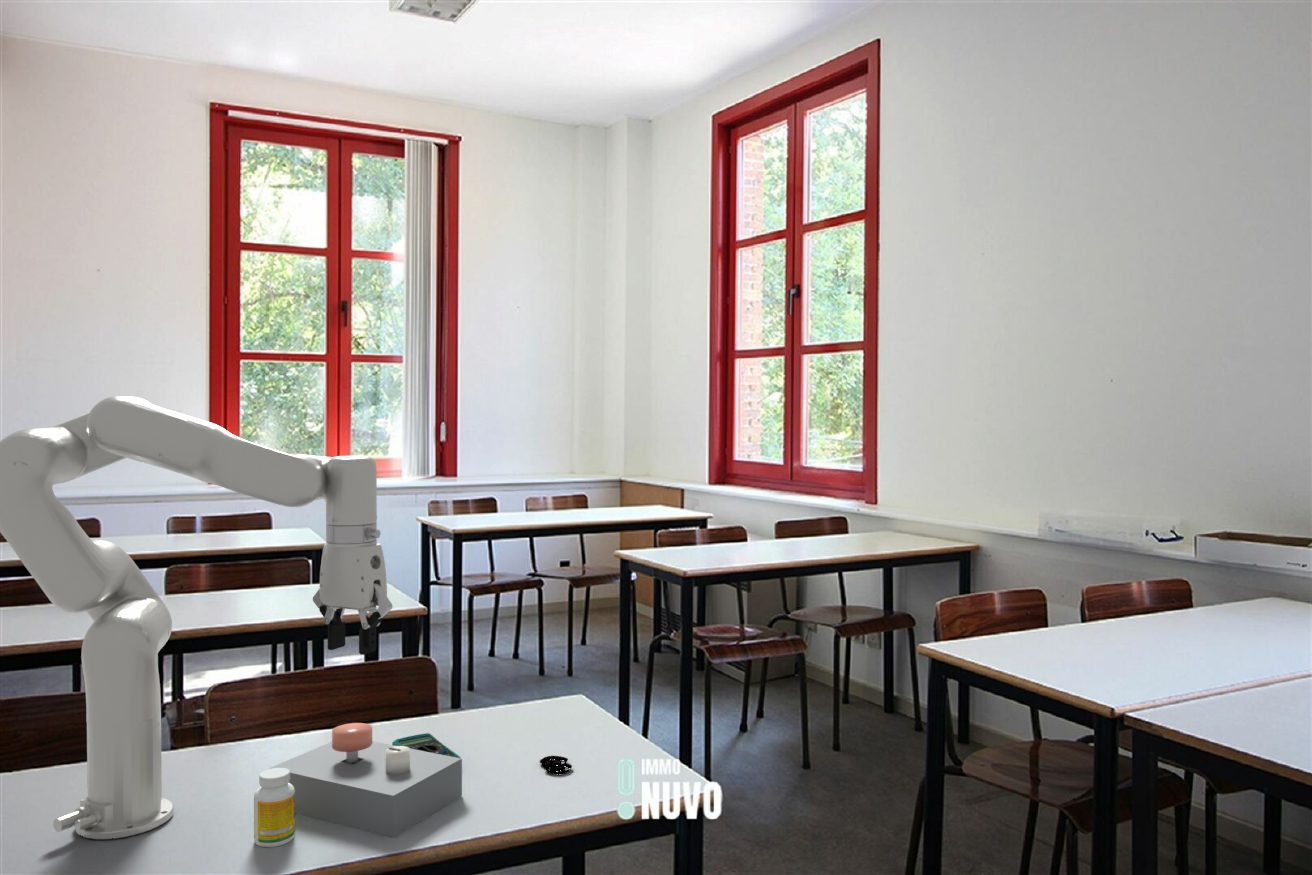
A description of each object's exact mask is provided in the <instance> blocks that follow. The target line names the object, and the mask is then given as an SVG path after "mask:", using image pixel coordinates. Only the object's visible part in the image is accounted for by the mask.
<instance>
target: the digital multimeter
mask: <svg viewBox="0 0 1312 875" xmlns="http://www.w3.org/2000/svg"><path fill="white" fill-rule="evenodd" d="M391 745H395V746H406V747H409V748H410V749H415V750H420V751H425V752H430V753H436V754H441V755H446V756H451V757H456V758H461V759H462V757H461V756H460V755H458V754H457V753H456V752H454V751H453V750H451V749H450V748H449V747H447V746H446V745H444V744H443V743H442V742H440V740H438V739H437V738H436V737H435V736H433V735H432V734H431V733H429V732H428V733H427V732H426V733H420V734H414V735H409V736H405V737H401V738H397V739H395V740H394V741H392V744H391Z"/></svg>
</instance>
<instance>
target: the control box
mask: <svg viewBox="0 0 1312 875" xmlns="http://www.w3.org/2000/svg"><path fill="white" fill-rule="evenodd" d="M389 747H395V745H392V744H390V743H389V744H388V743H383V742H378V741H374V740H372V745H371V746H370V747H368V748H366V749H363V750H359V751H358V762H357V763H353V764H349V763H347V762H346V752H340V751H336V750H334V749H333V748H332V741H330V742H328V743H325V744H323V745H321V746H318V747H316V748H314V749H311V750H309V751H307V752H306V751H305V753H301V754H300V755H297V756H295V757H293V758H289V759H287V760H286V761H284V762H281V763H279V764H277V765H273V766H271V767H269V769H272V768H286V769H289V771H290V780H289V782H288V783H290V784H292V785H293V787H294V789H295V814H297V815H301V816H305V817H310V818H313V819H317V820H322V821H325V822H331V823H334V824H337V825H343V826H346V827H349V828H354V829H359V830H363V831H366V832H370V833H374V834H379V835H383V836H386V837H392V838H395V837H397V836H399V835H401V833H403V832H405V831H406V830H408V829H410V828H412V827H413V826H415V825H416V824H418V823H420V822H422V821H423V820H425V819H427V818H429V817H430V816H432V815H433V814H435V813H437V812H439V811H440V810H442V809H443V808H445V807H446V806H449V805H450V804H452V803H453V802H456V801H457V800H458V799H459V798H461V797H462V796H463V759H462V757H461V758H456V757H451V756H446V755H441V754H436V753H430V752H425V751H420V750H415V749H410V770H409V771H407V772H405V773H401V774H389V773H387V772H386V750H387V749H388V748H389Z"/></svg>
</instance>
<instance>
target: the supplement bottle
mask: <svg viewBox="0 0 1312 875" xmlns="http://www.w3.org/2000/svg"><path fill="white" fill-rule="evenodd" d="M258 779H259V780H258V783H259V787H258V788H257V789H256V790H255V792H254V795H253V840H254V843H255V844H256V845H257V846H259V847H262V848H275V847H280V846H283V845H285V844H287V843H289V842H291V841H292V840H293V839H294V837H295V835H296V834H295V833H296V817H295V816H296V813H295V789H294V787H293V785H292V784H290V783H288V782H289V780H290V771H289V769H286V768H272V769H270V768H269V769H266V770H263V771H261V772H260V773H259V778H258Z"/></svg>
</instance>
